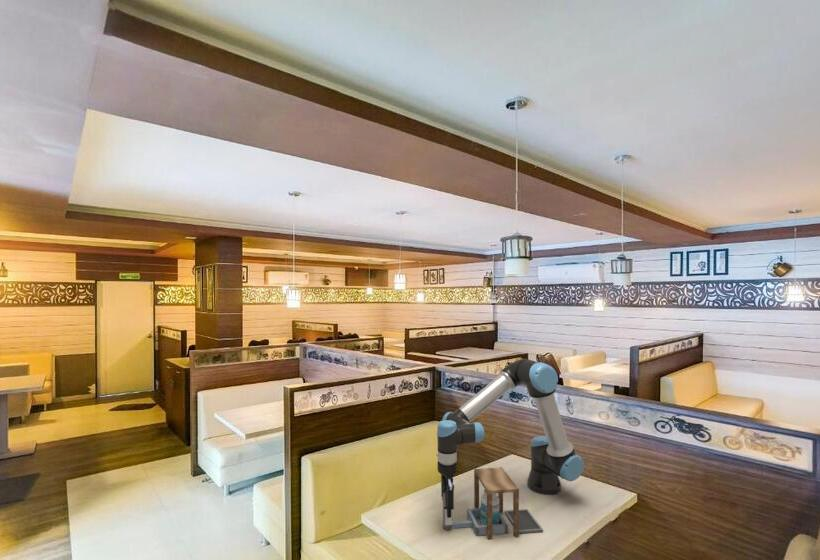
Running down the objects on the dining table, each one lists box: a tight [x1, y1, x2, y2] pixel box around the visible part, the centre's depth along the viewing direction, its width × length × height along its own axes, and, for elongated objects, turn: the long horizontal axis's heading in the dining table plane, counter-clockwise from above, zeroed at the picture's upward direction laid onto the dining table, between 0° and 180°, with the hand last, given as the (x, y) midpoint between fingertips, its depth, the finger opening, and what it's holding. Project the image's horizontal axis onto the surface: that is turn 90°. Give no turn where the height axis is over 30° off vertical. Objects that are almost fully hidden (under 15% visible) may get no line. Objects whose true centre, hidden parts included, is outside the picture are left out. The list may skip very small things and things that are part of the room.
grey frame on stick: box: [442, 492, 509, 537], centre depth 166 cm, size 24×13×13 cm, turn 97°
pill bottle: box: [480, 488, 499, 526], centre depth 167 cm, size 8×7×14 cm
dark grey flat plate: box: [504, 508, 544, 535], centre depth 168 cm, size 10×15×1 cm, turn 7°
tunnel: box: [473, 467, 520, 540], centre depth 167 cm, size 12×19×18 cm, turn 7°
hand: (447, 521), depth 164 cm, fingers closed on grey frame on stick, 4 cm apart
